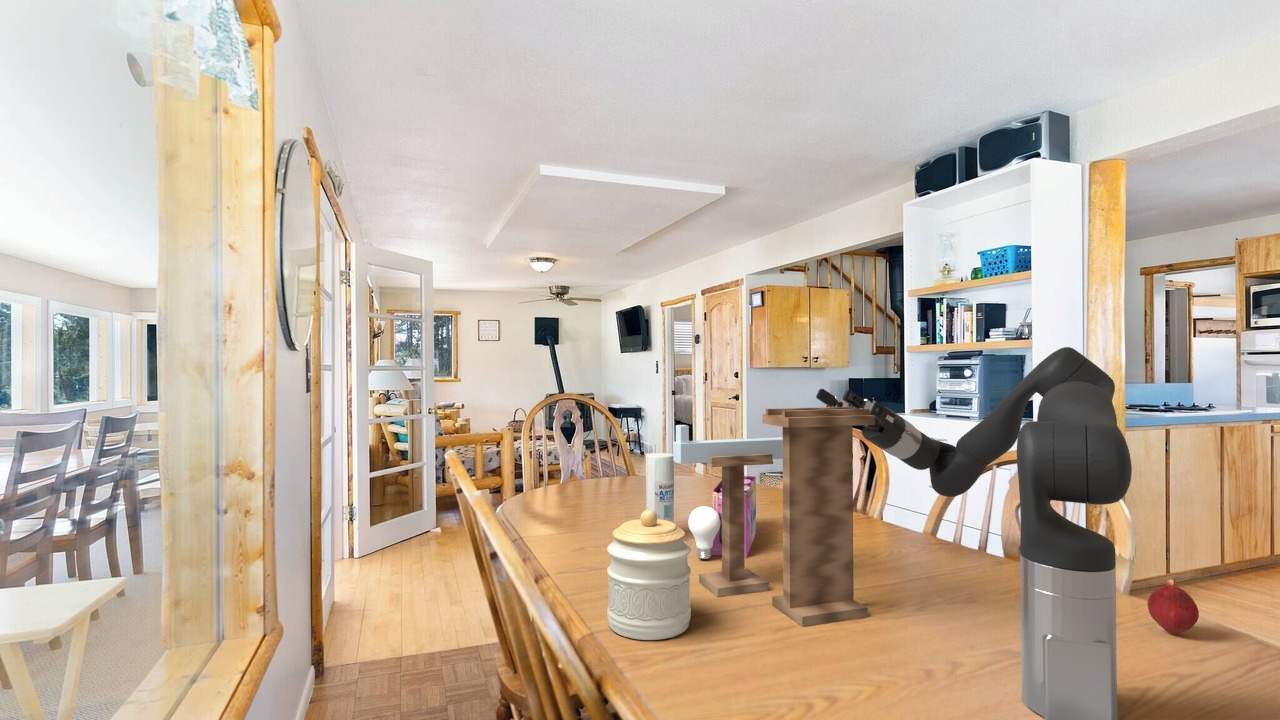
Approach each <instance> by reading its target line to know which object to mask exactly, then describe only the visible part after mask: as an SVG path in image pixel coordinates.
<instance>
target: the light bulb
mask: <svg viewBox="0 0 1280 720" xmlns="http://www.w3.org/2000/svg"><path fill="white" fill-rule="evenodd" d="M687 524H688V528H689V531H690V532H691V534H692V536H693V537H694V540H695V545H696V548H697V551H696V553H697V555H696V556H697V557H698V558H700V559H701V560H703V561H705V560H709V559H710V558H711V557H712V556H713V555H712V554H711V553H712V552H711V551H712V550H711V548H712V546H713V540H714V538H715V536H716V534H717V533H718V531H719V528H720V518H719V515H718V514H717V512H716V511H715V510H714V509H712V507H710V506H706V505H702V506H697V507H696V508H694V509H693V510H692V511H691V513H690V515H689V517H688V522H687Z"/></svg>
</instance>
